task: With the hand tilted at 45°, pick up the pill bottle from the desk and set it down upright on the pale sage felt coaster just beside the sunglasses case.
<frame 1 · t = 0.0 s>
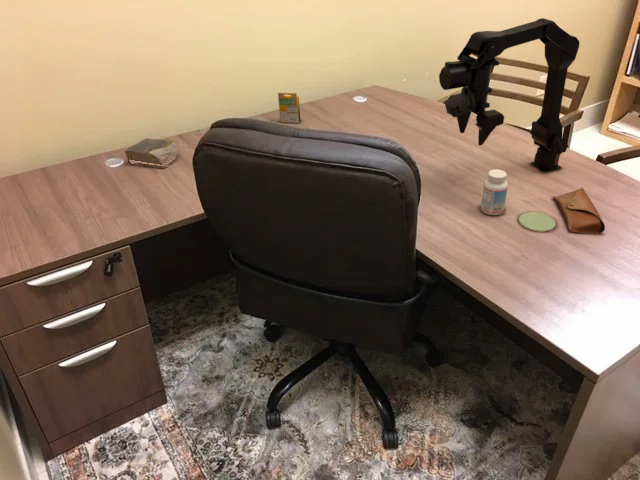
hand: (471, 138, 149), 15 cm above the table, tool pointing down, fingers open, 9 cm apart
sunglasses case: (576, 215, 142), on the table
felt coaster: (536, 222, 140), on the table
geological specimen: (155, 160, 182), on the table
crayon box: (290, 121, 204), on the table
pill bottle: (491, 210, 146), on the table
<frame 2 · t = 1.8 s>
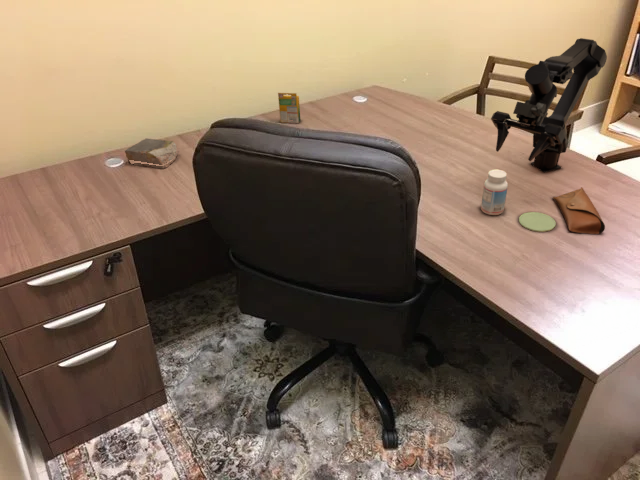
hand: (512, 155, 142), 13 cm above the table, tool tilted 45°, fingers open, 9 cm apart
nothing on the table moved.
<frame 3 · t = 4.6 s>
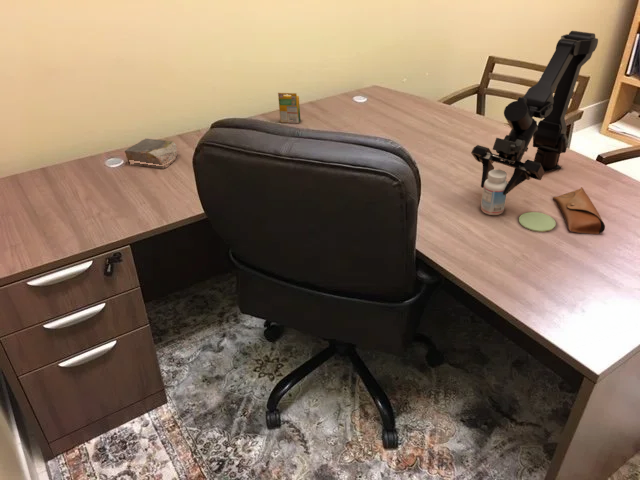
hand: (492, 190, 141), 7 cm above the table, tool tilted 45°, fingers closed on pill bottle, 6 cm apart
pill bottle: (491, 210, 146), on the table, touching gripper
everything else where it was.
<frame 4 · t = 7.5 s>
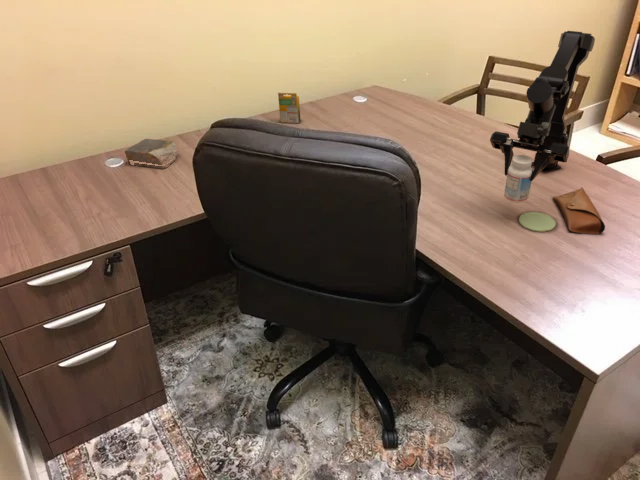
hand: (517, 177, 135), 12 cm above the table, tool tilted 45°, fingers closed on pill bottle, 6 cm apart
pill bottle: (515, 198, 139), point 5 cm above the table, touching gripper
everything else where it was.
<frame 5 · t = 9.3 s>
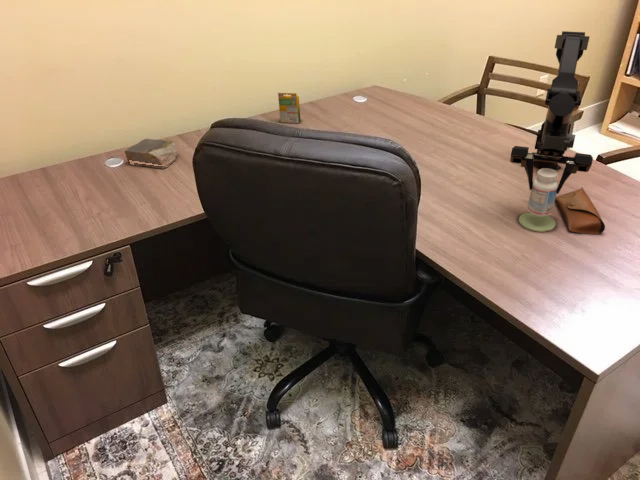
hand: (543, 191, 133), 10 cm above the table, tool tilted 45°, fingers closed on pill bottle, 6 cm apart
pill bottle: (539, 211, 138), point 3 cm above the table, touching gripper
everything else where it was.
when the fingers open (7 cm above the table, at t = 10.6 s): pill bottle stays where it is, resting on felt coaster.
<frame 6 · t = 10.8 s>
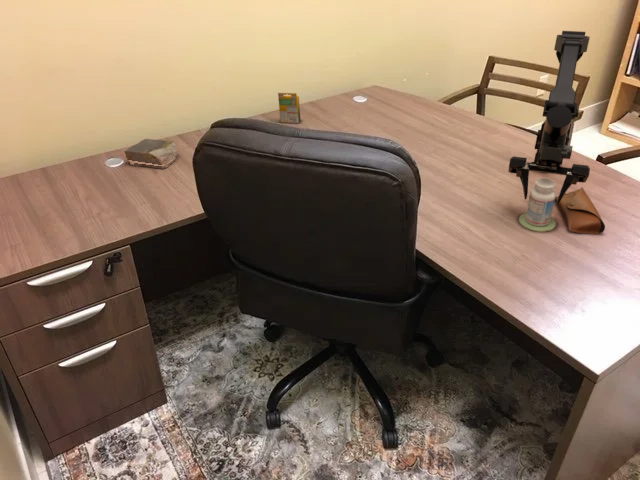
hand: (541, 201, 135), 7 cm above the table, tool tilted 45°, fingers open, 7 cm apart
pill bottle: (537, 221, 140), resting on felt coaster
everything else where it was.
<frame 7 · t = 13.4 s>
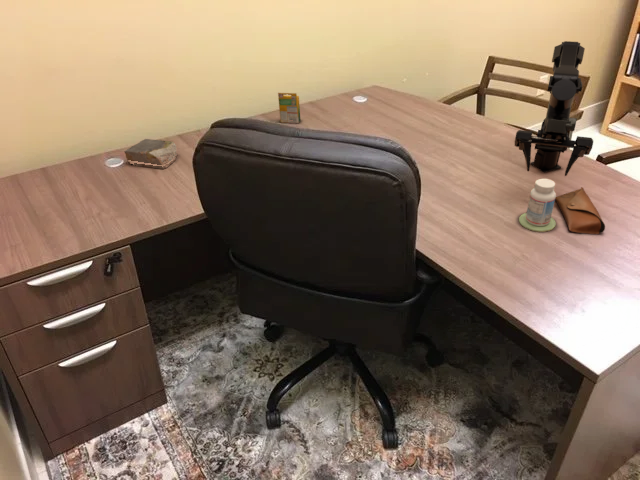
hand: (546, 173, 140), 10 cm above the table, tool tilted 45°, fingers open, 9 cm apart
nothing on the table moved.
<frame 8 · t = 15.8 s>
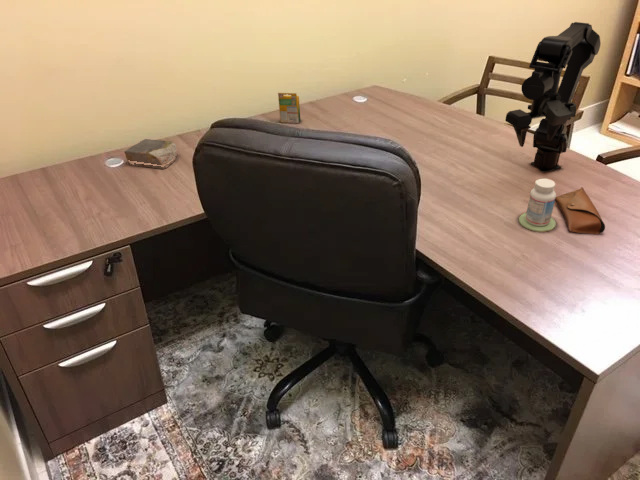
hand: (535, 143, 149), 13 cm above the table, tool pointing down, fingers open, 9 cm apart
nothing on the table moved.
at the end: pill bottle 0.1 cm off-centre on the felt coaster, point 0.2 cm above the felt coaster's base; pill bottle tilted 0°; pill bottle 11.5 cm from the sunglasses case (horizontally) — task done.
